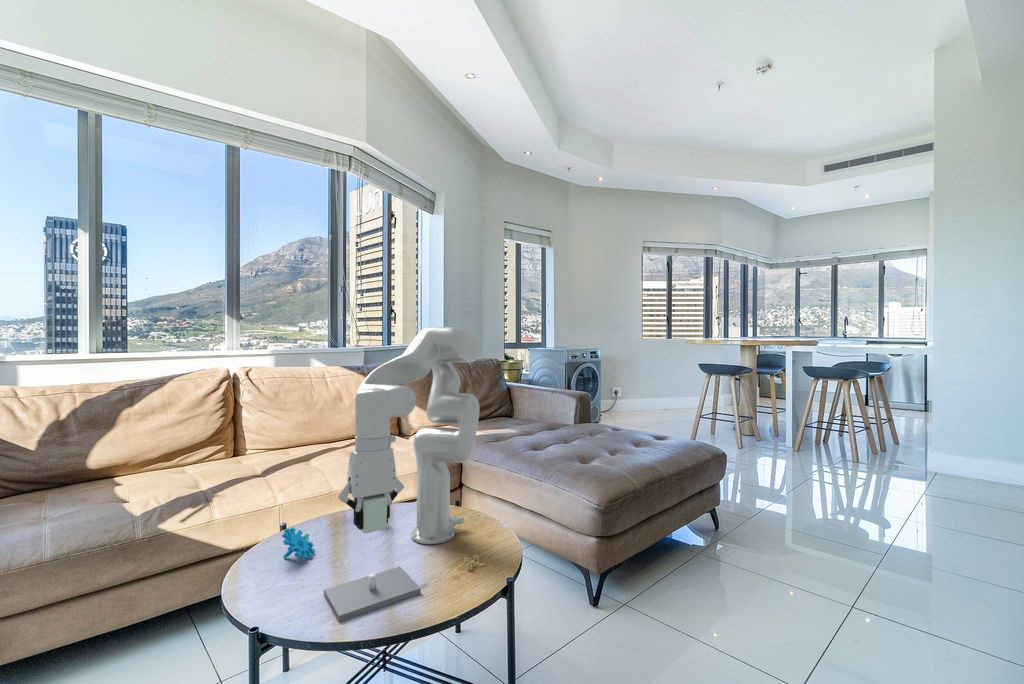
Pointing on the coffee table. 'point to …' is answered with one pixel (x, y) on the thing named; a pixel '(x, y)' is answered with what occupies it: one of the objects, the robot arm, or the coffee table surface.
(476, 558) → the dice set
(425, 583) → the coffee table surface
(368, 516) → the block
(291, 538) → the gear
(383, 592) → the pin plate
